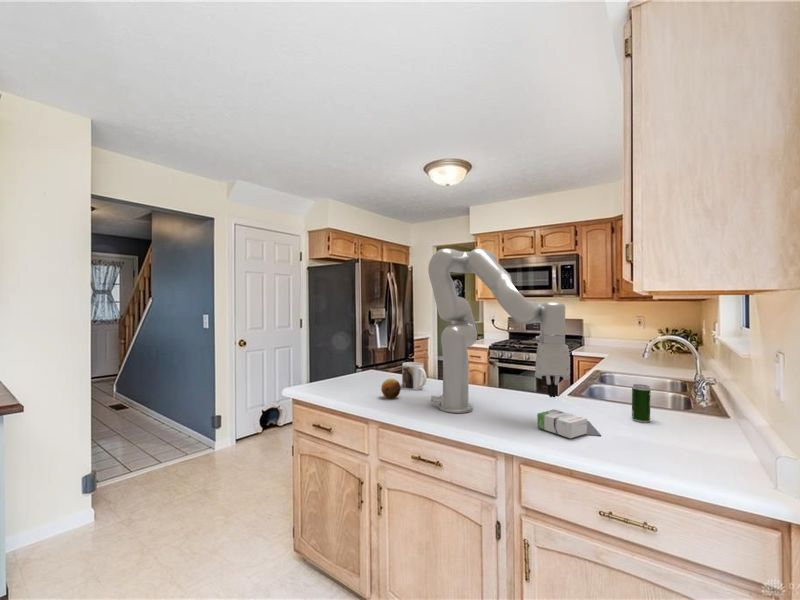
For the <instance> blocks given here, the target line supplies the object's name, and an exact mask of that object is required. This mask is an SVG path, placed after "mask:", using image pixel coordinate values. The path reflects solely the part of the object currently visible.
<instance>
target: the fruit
mask: <svg viewBox="0 0 800 600" xmlns="http://www.w3.org/2000/svg"><path fill="white" fill-rule="evenodd" d="M380 390H381V393H382V394H383V396H384V397H385V398H387V399H392V400H393V399H395V398H397V397H398V396H399V395H400V392H401V390H402V386H401V383H400V382H399V381H398V380H397V379H394V378H387V379H386V380H383V382H382V385H381V388H380Z"/></svg>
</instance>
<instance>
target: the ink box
mask: <svg viewBox="0 0 800 600" xmlns="http://www.w3.org/2000/svg"><path fill="white" fill-rule="evenodd" d="M536 416H537V417H536V420H537V428H538V429H541V430H544V431H547V432H550V433H553V434H556V435H560V436H562V437H565V438H568V439H572V438H573V439H574V438H576V437H580V436H585V435H584V434H587V421H588V418H586V417H582V416H579V415H575V414H573V413H569V412H564V411H561V410H558V409H551V410H546V411H541V412H538V413H537V415H536Z"/></svg>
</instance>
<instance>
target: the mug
mask: <svg viewBox="0 0 800 600" xmlns="http://www.w3.org/2000/svg"><path fill="white" fill-rule="evenodd" d="M401 367H402V370H401V373H402V374H401V389H403V390H408V391H419V390H422V389H423V388H424V386H425V385H426V383H427V372H426V371H425V368H424V367H425V366H424V363H423V362H418V361H415V362H414V361H411V362H410V361H407V362H403V363H402V365H401Z"/></svg>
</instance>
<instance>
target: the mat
mask: <svg viewBox="0 0 800 600" xmlns="http://www.w3.org/2000/svg"><path fill="white" fill-rule="evenodd" d="M583 436H591V437H592V436H593V437H594V436H595V437H602V434H601V433H600V432H599V431H598V430H597V428H596V427H595V426H594V425H593V424H592V423H591V422H590V421H589V420H587V434H584V435H583Z"/></svg>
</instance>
